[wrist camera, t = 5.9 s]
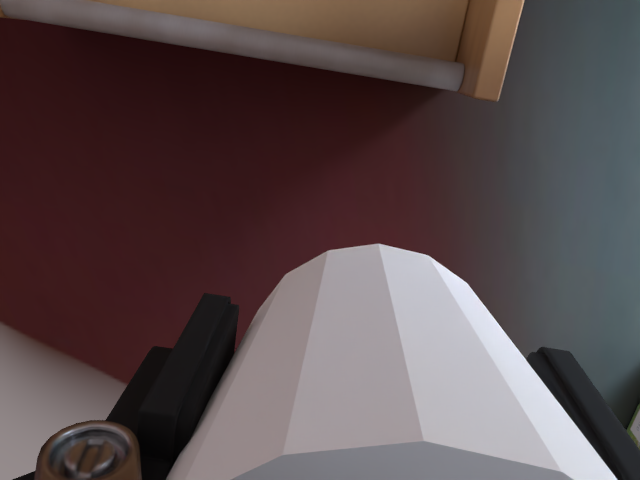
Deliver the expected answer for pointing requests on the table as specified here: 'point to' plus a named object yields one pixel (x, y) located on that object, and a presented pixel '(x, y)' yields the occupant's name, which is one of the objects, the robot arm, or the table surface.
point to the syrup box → (635, 427)
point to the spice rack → (319, 33)
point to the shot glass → (381, 385)
